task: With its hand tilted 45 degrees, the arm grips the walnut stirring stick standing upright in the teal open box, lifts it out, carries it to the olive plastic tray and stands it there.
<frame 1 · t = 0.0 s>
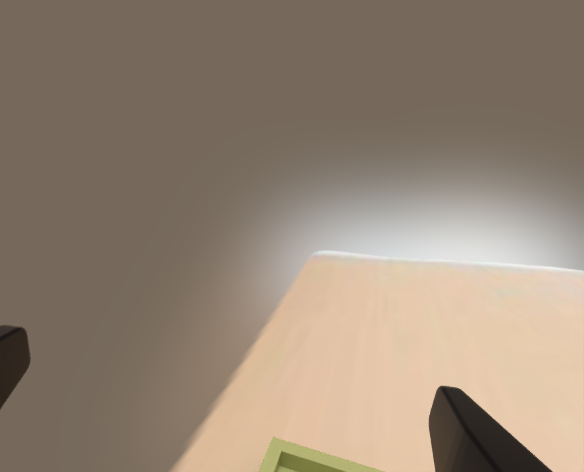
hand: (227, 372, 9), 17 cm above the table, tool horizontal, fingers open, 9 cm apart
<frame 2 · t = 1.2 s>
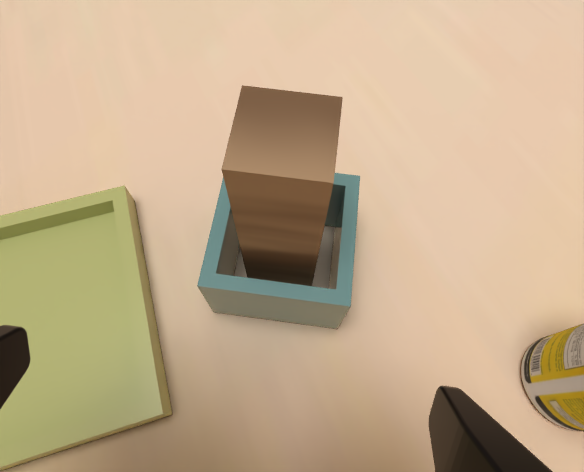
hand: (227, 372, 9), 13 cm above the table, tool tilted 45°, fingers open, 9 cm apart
walnut stick: (284, 216, 19), in the teal open box
supplement bottle: (560, 381, 22), on the table
olive tray: (32, 329, 22), on the table
teal open box: (283, 262, 24), on the table
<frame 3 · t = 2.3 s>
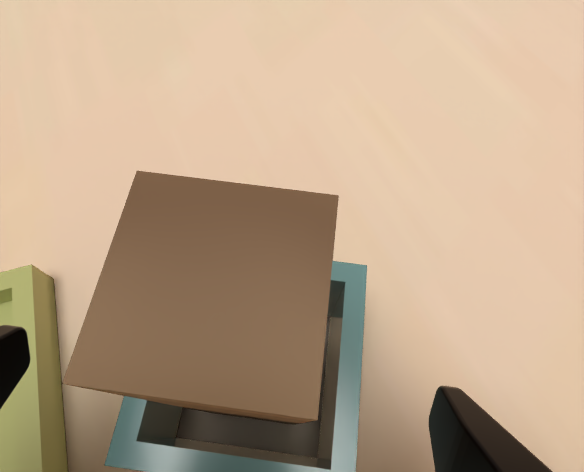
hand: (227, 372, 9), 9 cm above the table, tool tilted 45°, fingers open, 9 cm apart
walnut stick: (246, 348, 12), in the teal open box
teal open box: (257, 373, 17), on the table
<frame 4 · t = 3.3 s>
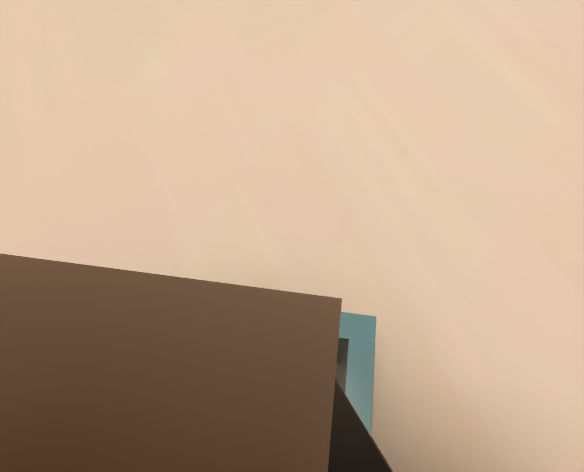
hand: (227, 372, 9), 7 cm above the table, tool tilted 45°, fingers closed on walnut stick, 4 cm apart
walnut stick: (217, 442, 9), in the teal open box, touching gripper
teal open box: (242, 434, 14), on the table
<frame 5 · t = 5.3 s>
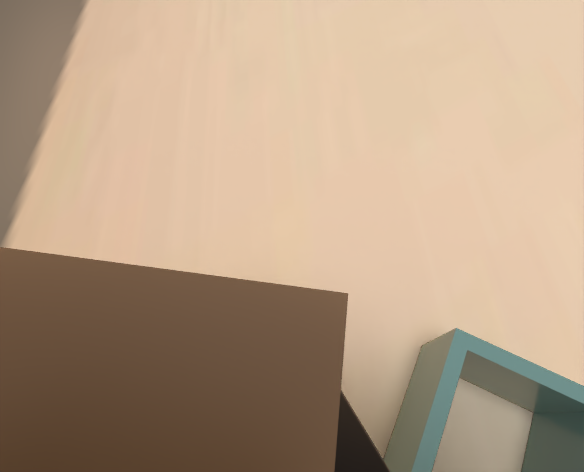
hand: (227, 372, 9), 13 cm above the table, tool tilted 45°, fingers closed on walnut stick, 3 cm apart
walnut stick: (220, 440, 9), point 13 cm above the table, touching gripper
teal open box: (466, 441, 20), on the table
when the fingers open (8 cm above the table, at t = 6.8 s): walnut stick stays where it is, resting on olive tray.
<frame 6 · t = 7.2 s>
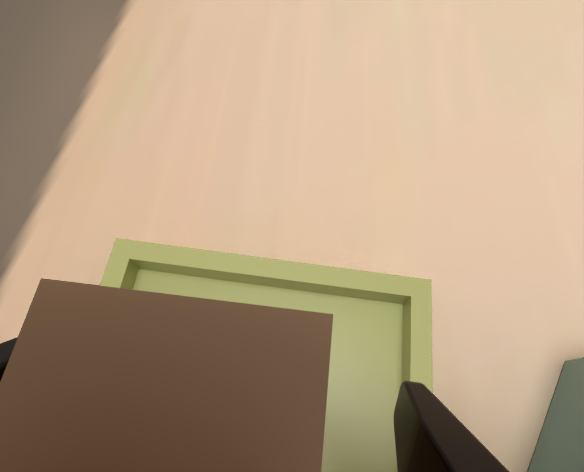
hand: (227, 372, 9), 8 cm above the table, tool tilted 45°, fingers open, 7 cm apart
walnut stick: (224, 439, 10), in the olive tray, point 7 cm above the table
olive tray: (246, 433, 16), on the table
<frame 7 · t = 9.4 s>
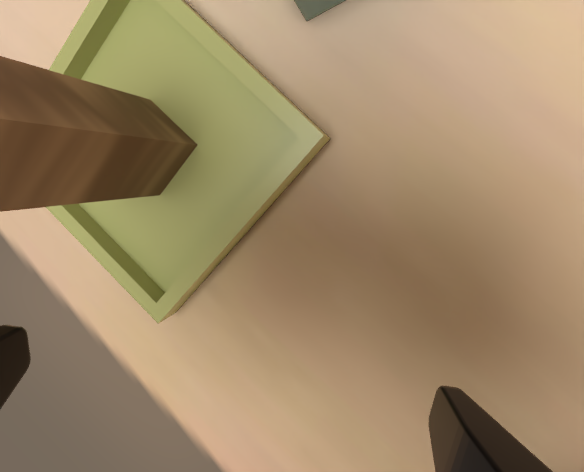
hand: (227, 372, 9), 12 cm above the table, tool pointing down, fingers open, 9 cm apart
walnut stick: (66, 139, 16), in the olive tray, point 7 cm above the table
olive tray: (161, 149, 22), on the table
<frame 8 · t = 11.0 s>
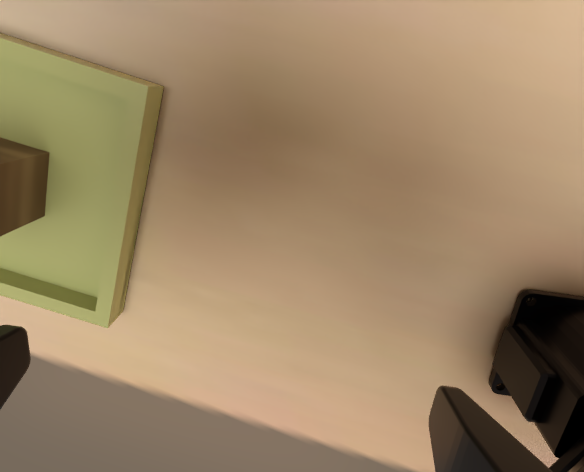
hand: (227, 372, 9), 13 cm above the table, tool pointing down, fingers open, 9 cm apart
olive tray: (22, 173, 21), on the table
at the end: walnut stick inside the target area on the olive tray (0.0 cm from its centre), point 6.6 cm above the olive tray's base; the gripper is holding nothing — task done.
